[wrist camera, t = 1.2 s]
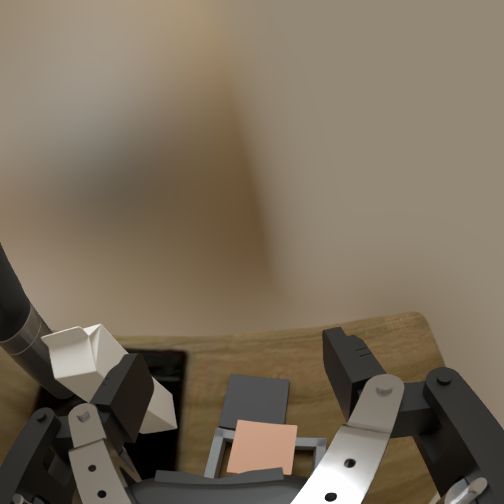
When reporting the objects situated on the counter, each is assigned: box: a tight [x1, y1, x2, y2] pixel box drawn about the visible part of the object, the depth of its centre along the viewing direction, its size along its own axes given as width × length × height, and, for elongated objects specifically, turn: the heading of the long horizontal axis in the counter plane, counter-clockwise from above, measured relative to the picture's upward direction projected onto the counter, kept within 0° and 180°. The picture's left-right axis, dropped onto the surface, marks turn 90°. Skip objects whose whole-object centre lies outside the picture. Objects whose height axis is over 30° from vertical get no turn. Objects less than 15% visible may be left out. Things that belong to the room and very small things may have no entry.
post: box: [227, 420, 297, 475], centre depth 22 cm, size 5×5×16 cm
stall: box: [204, 428, 327, 479], centre depth 25 cm, size 14×11×3 cm
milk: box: [41, 324, 177, 434], centre depth 27 cm, size 6×6×22 cm
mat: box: [219, 374, 289, 429], centre depth 35 cm, size 9×9×1 cm
